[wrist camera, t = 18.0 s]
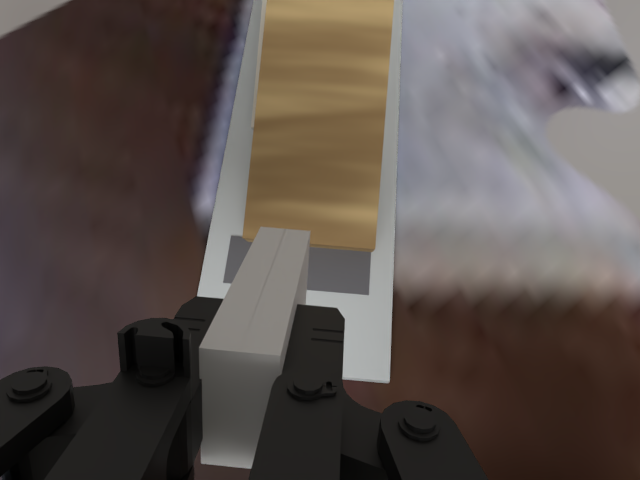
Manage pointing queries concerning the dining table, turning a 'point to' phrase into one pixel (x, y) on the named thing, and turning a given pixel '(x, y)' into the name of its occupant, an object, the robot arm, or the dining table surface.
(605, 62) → the dining table surface
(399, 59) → the mat
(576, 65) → the dining table surface
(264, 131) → the ochre tile
